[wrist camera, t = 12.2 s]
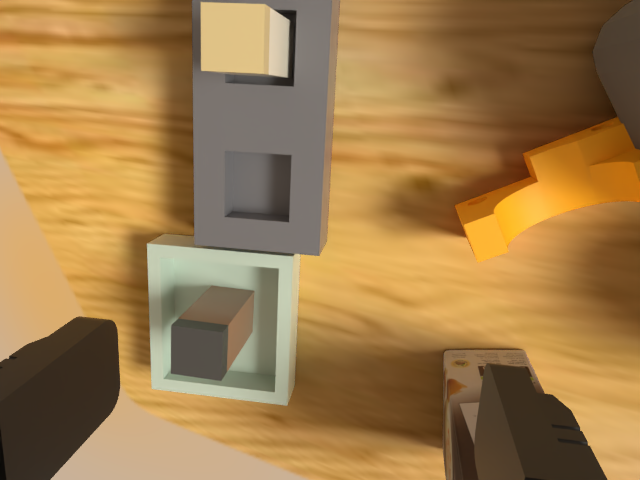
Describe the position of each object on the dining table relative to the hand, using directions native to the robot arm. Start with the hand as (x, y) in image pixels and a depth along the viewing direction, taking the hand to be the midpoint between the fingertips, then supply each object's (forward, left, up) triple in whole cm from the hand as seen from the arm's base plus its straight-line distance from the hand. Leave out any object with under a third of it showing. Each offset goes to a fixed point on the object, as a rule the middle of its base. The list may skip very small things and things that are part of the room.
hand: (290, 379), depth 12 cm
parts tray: (+12, -10, -30) cm, 34 cm away
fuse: (-8, -7, -28) cm, 30 cm away
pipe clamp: (-1, +12, -30) cm, 33 cm away
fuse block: (-4, -7, -30) cm, 31 cm away
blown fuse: (+11, -10, -29) cm, 33 cm away
